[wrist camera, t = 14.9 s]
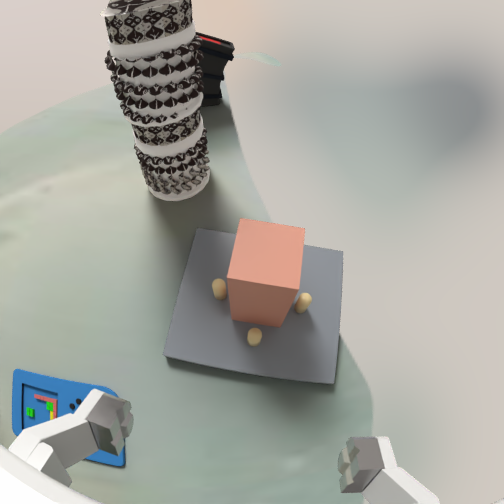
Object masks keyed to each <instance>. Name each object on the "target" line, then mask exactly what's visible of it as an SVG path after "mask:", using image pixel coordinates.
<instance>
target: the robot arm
mask: <svg viewBox="0 0 504 504" xmlns="http://www.w3.org/2000/svg"><path fill="white" fill-rule="evenodd" d="M130 409H131V403H130V402H129V401H126V400H124V399H121V398H118V397H116V396H113V395H110V394H108V393H105V392H103V391H100V390H97V389H93V390H91V391H90V393H89V394H88V395H87V397H86V398H85V399H84V401H83V402H82V403H81V405H80V406H79V407H78V409H77V410H76V411H75V413H74V414H71V413H69V414H66V415H64V416H61V417H58V418H55V419H53V420H50V421H47V422H44V423H41V424H38V425H35V426H32V427H29V428H26V429H24V430H23V431H22V432H21V433H20V435H19V436H18V437H17V438H16V440H15V441H14V442H13V443H12V445H11V446H10V447H9V448H8V449H6V448H5V447H4V446H2V445H1V444H0V504H103V503H101V502H98V501H96V500H94V499H92V498H90V497H87V496H85V495H83V494H81V493H79V492H77V491H75V490H73V489H71V488H69V486H70V485H71V483H72V480H71V478H70V476H69V475H68V473H67V471H66V470H65V469H66V468H68V467H70V466H72V465H74V464H75V463H77V462H79V461H81V460H83V459H84V458H86V457H88V456H90V455H91V454H93V453H95V452H97V451H98V450H99V449H100V450H102V451H105V452H108V453H110V454H113V455H116V456H119V454H120V452H121V451H122V449H123V447H124V445H125V444H124V440H123V439H124V438H126V437H128V436H129V435H130V433H131V431H132V427H133V415H132V414H131V413H130ZM346 445H347V447H346V448H344V449H342V451H341V453H340V454H339V458H338V471H339V472H340V473H341V474H342V477H341V478H340V480H339V481H340V489H341V493H358V492H362V493H361V494H362V495H363V496H364V497H365V499H366V500H367V501H368V502H369V503H370V504H440V503H439V500H438V497H437V496H435V495H434V494H432V492H430V491H429V490H428V489H426V488H425V487H424V486H423V485H422V484H420V483H419V482H418V481H417V480H416V479H414V478H413V477H412V476H411V475H410V474H408V473H407V472H406V471H405V470H404V469H403V468H401V467H398V466H397V463H396V460H395V456H394V453H393V450H392V447H391V444H390V441H389V438H388V437H387V436H385V437H384V436H383V437H351V438H349V439H348V441H347V442H346ZM492 504H504V498H503V499H501V500H498V501H496V502H494V503H492Z"/></svg>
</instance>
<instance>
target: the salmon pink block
mask: <svg viewBox="0 0 504 504" xmlns="http://www.w3.org/2000/svg"><path fill="white" fill-rule="evenodd" d="M304 234H305V228H299V227H293V226H287V225H280V224H275V223H269V222H262V221H256V220H250V219H243V218H240V221H239V226H238V230H237V235H236V239H235V243H234V248H233V252H232V257H231V261H230V266H229V270H228V275H227V283H228V292H229V301H230V310H231V319H232V320H236V321H242V322H248V323H254V324H260V325H266V326H273V327H279V328H280V327H281V325H282V323H283V321H284V319H285V317H286V315H287V313H288V311H289V309H290V307H291V305H292V303H293V301H294V299H295V297H296V295H297V293H298V291H299V286H300V277H301V267H302V257H303V246H304Z"/></svg>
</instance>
